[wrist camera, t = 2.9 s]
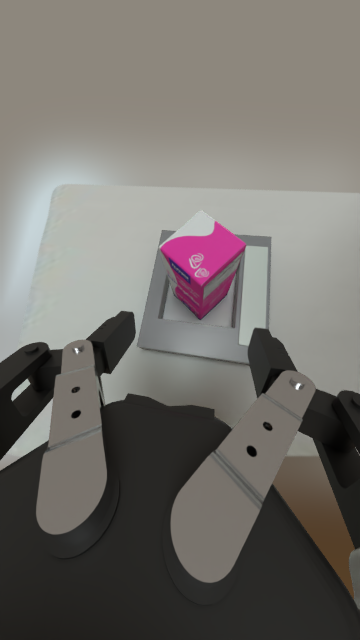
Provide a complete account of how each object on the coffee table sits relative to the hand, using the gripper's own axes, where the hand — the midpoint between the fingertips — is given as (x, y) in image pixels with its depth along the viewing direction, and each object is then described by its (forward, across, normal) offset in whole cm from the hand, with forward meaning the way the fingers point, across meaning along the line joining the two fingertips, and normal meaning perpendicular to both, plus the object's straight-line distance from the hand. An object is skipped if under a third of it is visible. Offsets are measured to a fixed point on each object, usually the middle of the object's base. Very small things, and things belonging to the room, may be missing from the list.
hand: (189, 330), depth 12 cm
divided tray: (+15, 0, +3) cm, 15 cm away
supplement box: (+15, 0, +4) cm, 16 cm away
